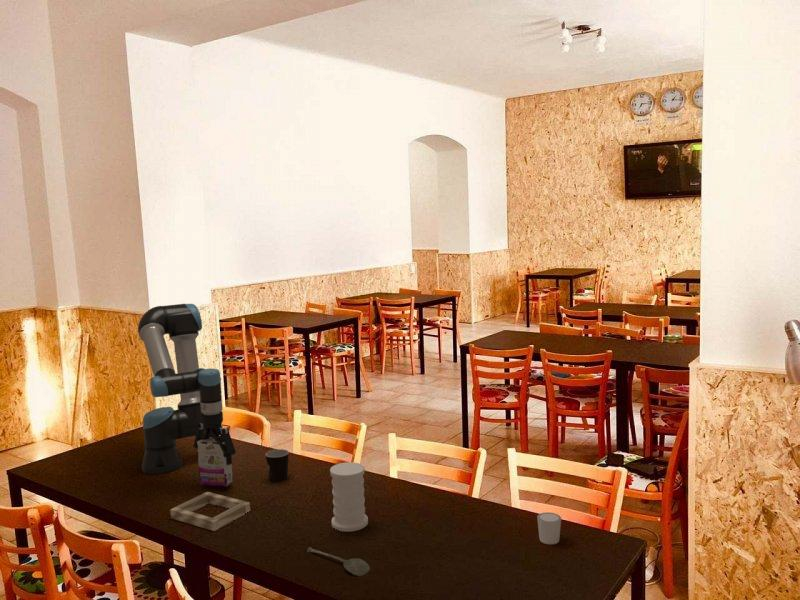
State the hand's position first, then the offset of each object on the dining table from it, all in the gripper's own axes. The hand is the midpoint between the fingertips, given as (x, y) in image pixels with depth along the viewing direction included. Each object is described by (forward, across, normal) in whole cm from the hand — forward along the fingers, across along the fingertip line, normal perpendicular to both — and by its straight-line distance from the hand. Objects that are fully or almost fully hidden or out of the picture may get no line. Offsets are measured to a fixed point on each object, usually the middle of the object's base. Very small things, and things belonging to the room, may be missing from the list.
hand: (215, 469), depth 240 cm
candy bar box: (+5, 0, 0) cm, 5 cm away
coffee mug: (+7, +14, +18) cm, 24 cm away
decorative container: (+6, +60, -1) cm, 61 cm away
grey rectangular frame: (+6, +15, -17) cm, 24 cm away
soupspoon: (+6, +71, -22) cm, 75 cm away
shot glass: (+5, +119, +17) cm, 121 cm away
